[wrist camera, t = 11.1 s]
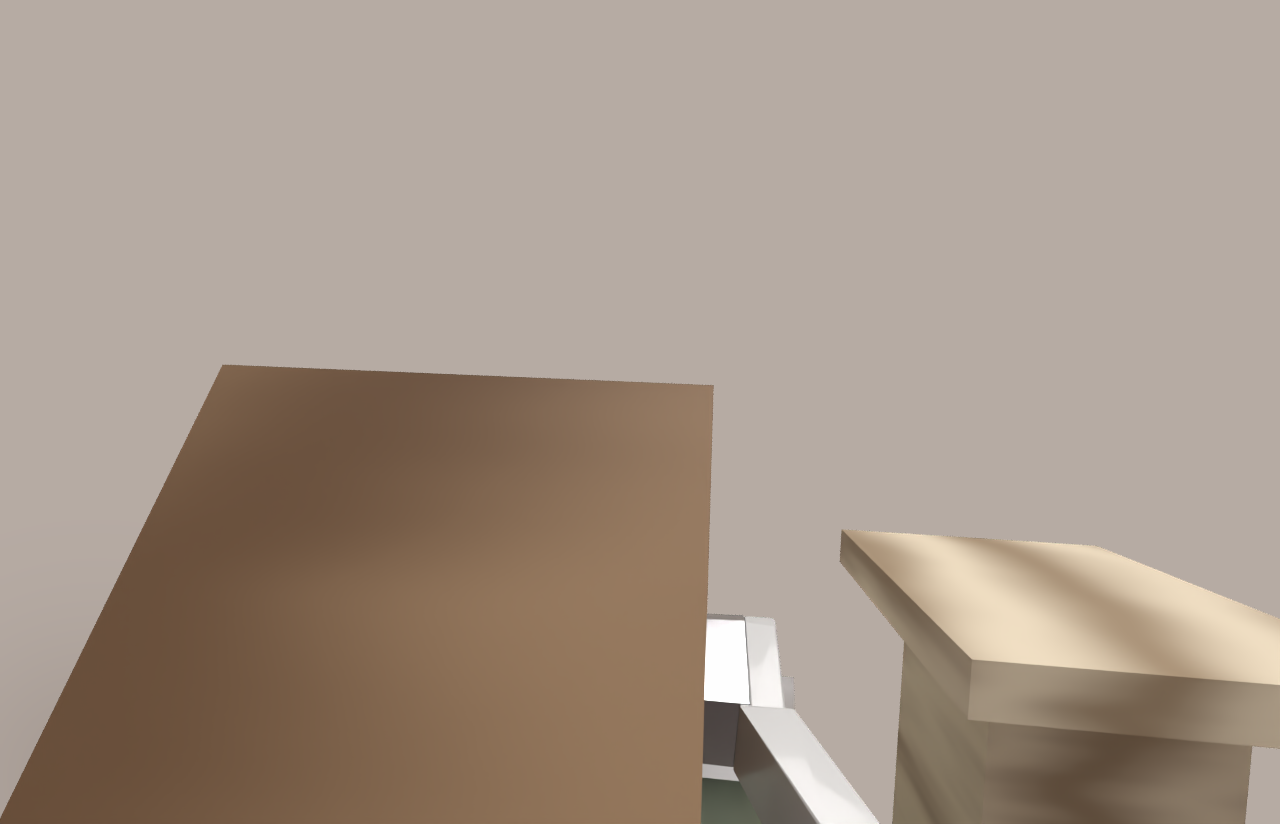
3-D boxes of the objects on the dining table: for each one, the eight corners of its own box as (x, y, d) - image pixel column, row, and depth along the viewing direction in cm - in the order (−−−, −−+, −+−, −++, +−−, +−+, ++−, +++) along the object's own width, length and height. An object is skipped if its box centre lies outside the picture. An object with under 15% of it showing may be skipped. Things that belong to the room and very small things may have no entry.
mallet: (-826, 921, 3) (-264, 343, 4) (511, 748, 23) (524, 664, 24) (1950, 1366, 2) (1395, 413, 3) (773, 774, 22) (772, 686, 23)
